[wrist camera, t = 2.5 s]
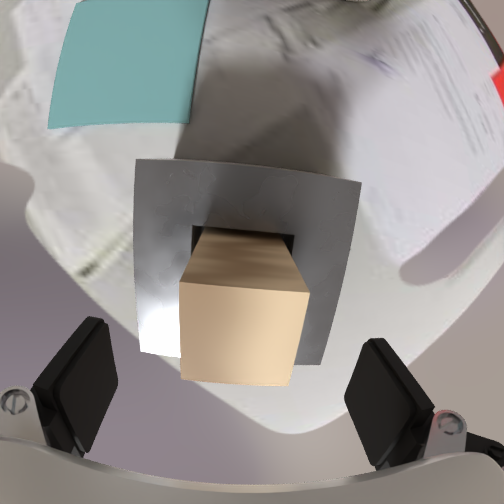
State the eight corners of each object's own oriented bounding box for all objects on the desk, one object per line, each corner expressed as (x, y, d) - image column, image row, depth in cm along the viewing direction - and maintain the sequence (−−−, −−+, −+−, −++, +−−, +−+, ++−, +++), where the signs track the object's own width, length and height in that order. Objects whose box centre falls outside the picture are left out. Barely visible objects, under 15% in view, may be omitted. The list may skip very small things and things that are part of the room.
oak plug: (273, 222, 20) (310, 292, 10) (265, 280, 21) (288, 386, 11) (210, 216, 20) (179, 282, 9) (206, 275, 21) (181, 379, 11)
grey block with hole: (318, 173, 23) (361, 182, 14) (297, 303, 27) (320, 364, 18) (173, 158, 22) (135, 159, 14) (168, 292, 26) (140, 351, 17)
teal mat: (212, -12, 17) (211, -15, 16) (188, 123, 21) (187, 122, 21) (78, 5, 16) (76, 3, 15) (50, 129, 20) (47, 128, 20)
